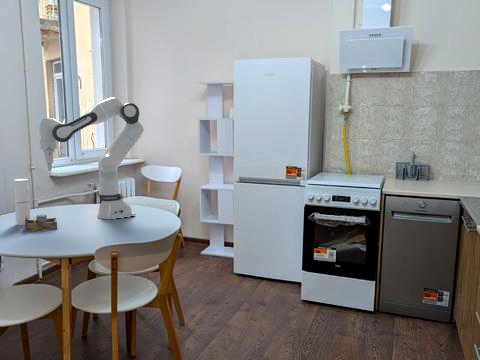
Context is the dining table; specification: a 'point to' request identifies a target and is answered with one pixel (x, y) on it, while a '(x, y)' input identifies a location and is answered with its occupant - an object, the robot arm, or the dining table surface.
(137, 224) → the dining table surface
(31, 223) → the brown wooden open box
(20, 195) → the cylindrical container
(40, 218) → the jar
